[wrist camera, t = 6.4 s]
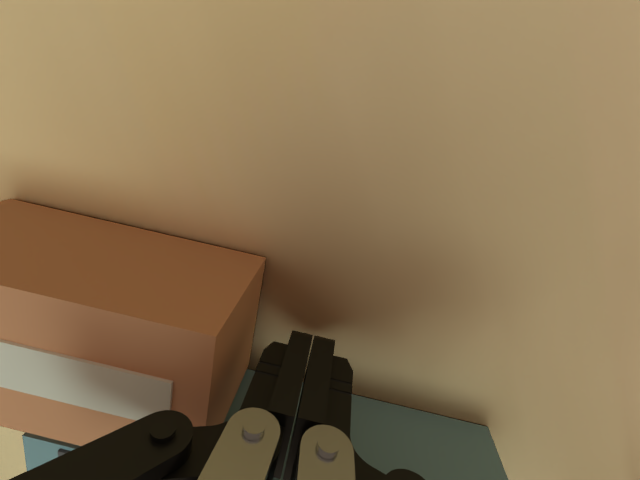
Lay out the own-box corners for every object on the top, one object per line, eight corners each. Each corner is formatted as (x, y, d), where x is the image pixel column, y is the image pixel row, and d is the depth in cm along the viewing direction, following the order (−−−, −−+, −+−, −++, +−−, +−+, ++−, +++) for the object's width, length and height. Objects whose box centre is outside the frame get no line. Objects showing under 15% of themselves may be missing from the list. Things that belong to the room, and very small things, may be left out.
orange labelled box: (266, 257, 14) (214, 339, 9) (248, 364, 16) (198, 479, 11) (10, 198, 14) (-170, 247, 9) (22, 310, 16) (-124, 398, 11)
